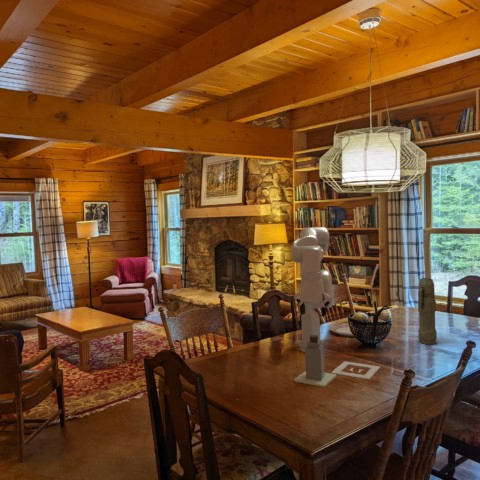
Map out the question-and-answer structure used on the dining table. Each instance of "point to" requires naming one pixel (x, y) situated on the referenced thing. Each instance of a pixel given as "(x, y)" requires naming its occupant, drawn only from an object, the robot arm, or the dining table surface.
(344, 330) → the dinner plate
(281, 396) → the dining table surface
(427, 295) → the thermos
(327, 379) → the sage coaster
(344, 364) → the frame
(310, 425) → the dining table surface
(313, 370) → the perfume bottle
